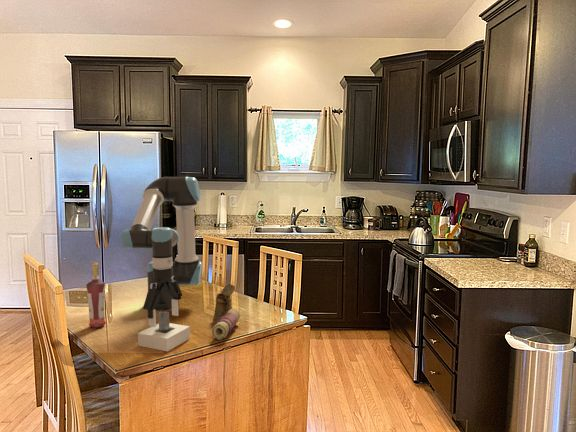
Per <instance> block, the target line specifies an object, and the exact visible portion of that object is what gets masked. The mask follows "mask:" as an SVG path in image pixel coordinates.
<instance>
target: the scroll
mask: <svg viewBox="0 0 576 432" xmlns="http://www.w3.org/2000/svg"><path fill="white" fill-rule="evenodd" d="M240 318H241V313H240V312H239V310H238V309H237V308H232V309H230V310H229V311H228V312H227V313H226V314H225V316H223V317H221V318H220V319H218V321H216V322H217V323H216V324H215V325H213V327H212V330H211V333H212V336H213V338H215V339H217V340H223V339H226V337H227V335H229V334H230V333H232V332H233V328H234V327H235V326H236V325H237V323H239V321H240Z"/></svg>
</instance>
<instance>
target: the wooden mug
mask: <svg viewBox="0 0 576 432" xmlns="http://www.w3.org/2000/svg"><path fill="white" fill-rule="evenodd" d="M235 289H236V286H235V285H233V284H228V285H226V286H224V287H223V288H222V289H221V292H219V293H217V294H216V297H215V305H214V306H215V308H214V313H213V314H214V315H213V317H212V318H213V320H214V321H215V322H217V321H218V319H220V318H221V317H223V316H225V314H226V313H227V312H228V311H229V310H230V309H233V308H232V297H231V295H232V294H233V293H234V292H235Z"/></svg>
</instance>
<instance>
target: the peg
mask: <svg viewBox="0 0 576 432" xmlns="http://www.w3.org/2000/svg"><path fill="white" fill-rule="evenodd" d="M158 323H159V332H161V333H167V332H169V331H170V327H169V323H170V311H169V310H160V311H159V312H158Z"/></svg>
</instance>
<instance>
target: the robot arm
mask: <svg viewBox="0 0 576 432" xmlns="http://www.w3.org/2000/svg"><path fill="white" fill-rule="evenodd" d="M200 201H201V191H200V185H199V182H198V179H197V178H196V177H192V176H163V177H159V178H157V179H155V180H154V181H152V182H151V183H150V184H148V185H147V187H146V188H145V189H144V191H143V194H142V202H141V205H140V207H139V209H138V211H137V214H136V216H135V218H134V221H133V223H132V225H131V227H130V229H129V228H127V229H123V230H122V231H121V234H120V244H121V246H122V247H123V248H125V249H152V252H151V253H152V258H151V259H152V260H151V261H150V262H148V263H147V271H146V274H147V276H146V277H147V278H146V279H147V294H146V296H145V301H144V304H143V306H142V309H143V310H147V318H148V326H149V327H155V326H156V324H157V323H156V322H157V320H156V319H157V315H156V313H157V312H156V311H163V310H167V309H171V316H175V317H179V306H180V304H179V303H180V302H179V301H180V300H182V297H183V293H182V291H181V287H180V286H195V285H199V284H200V282H201V278H202V273H203V261H200V258H199V256H198V255H197V254H196V233H195V232H196V229H195V228H196V227H195V224H196V223H195V207H197V205H198V202H200ZM164 202H172V207H174V208H175V214H176V218H175V221H176V229H173V228H170V227H168V226H165V227H164V226H162V227H154V228H153V229H151V228H152V226H153V223H154V222H155V221H154V220H155V218H156V215H157V212H158V211H159V207H160V206H161V205H162V204H163V203H164ZM176 245H177V256H176V257H175V259H174V261H173V247H175V246H176Z"/></svg>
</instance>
